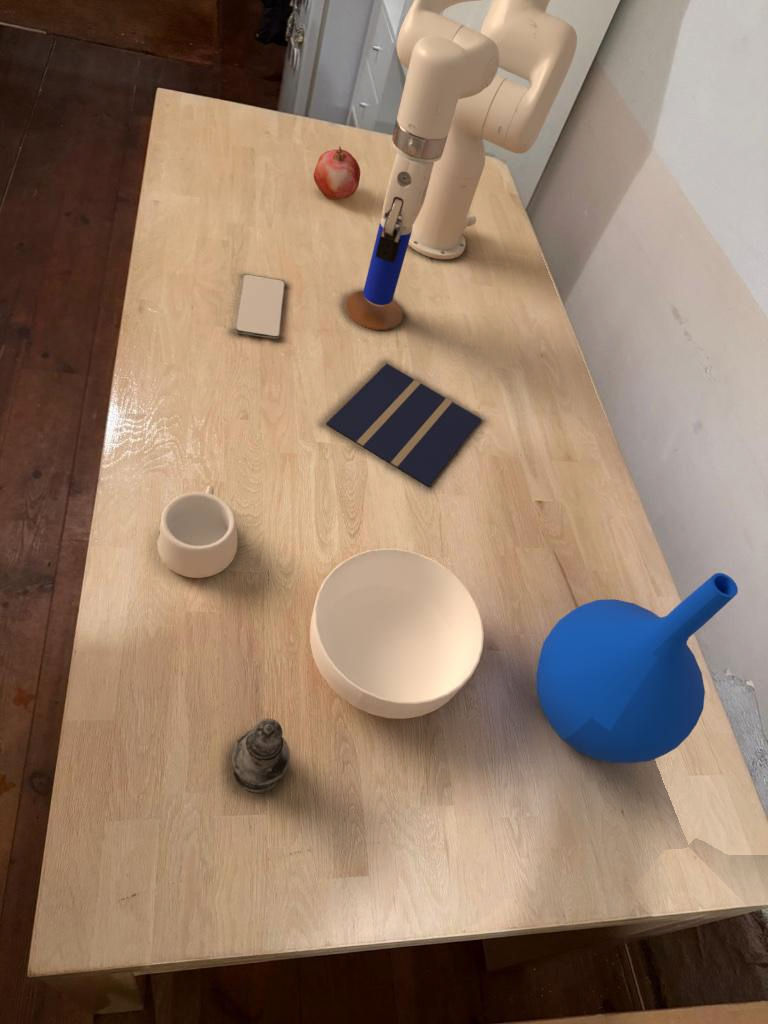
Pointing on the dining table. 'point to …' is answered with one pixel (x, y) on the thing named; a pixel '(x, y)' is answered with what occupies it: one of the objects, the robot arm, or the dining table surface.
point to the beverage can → (385, 270)
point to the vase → (627, 675)
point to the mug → (197, 534)
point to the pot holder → (405, 424)
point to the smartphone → (260, 306)
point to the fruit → (337, 174)
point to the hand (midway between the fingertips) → (390, 248)
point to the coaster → (373, 313)
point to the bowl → (395, 633)
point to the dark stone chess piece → (260, 757)
